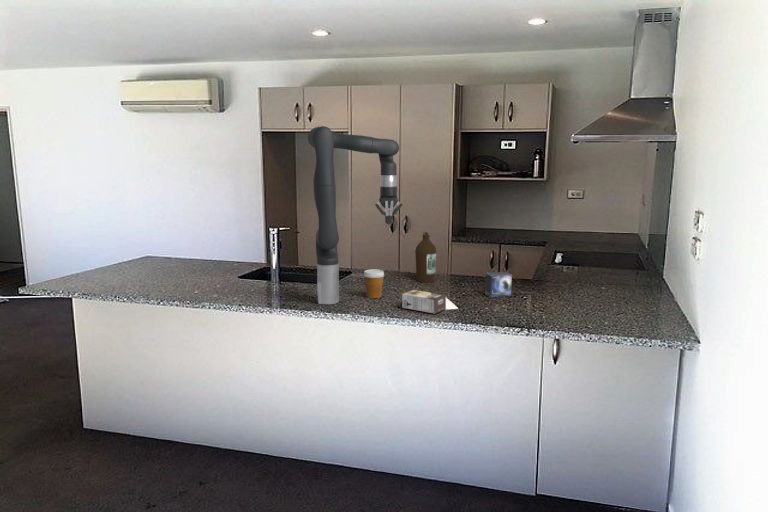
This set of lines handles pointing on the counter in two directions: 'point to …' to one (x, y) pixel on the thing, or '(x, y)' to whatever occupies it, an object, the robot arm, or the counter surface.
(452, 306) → the mat
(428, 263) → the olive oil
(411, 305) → the coffee box
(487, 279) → the small box
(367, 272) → the disposable coffee cup
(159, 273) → the counter surface
